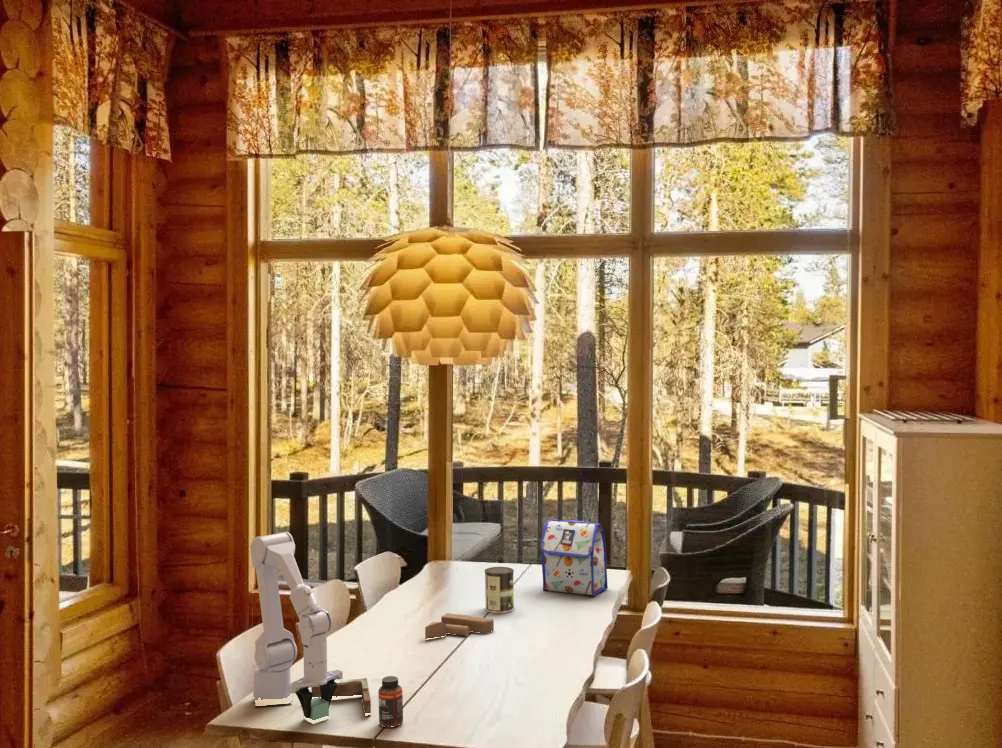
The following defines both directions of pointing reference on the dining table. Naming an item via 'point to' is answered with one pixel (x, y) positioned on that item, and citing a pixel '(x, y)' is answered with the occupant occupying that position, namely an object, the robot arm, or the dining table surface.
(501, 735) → the dining table surface
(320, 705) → the teal cube
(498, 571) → the coffee can
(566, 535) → the lunch bag
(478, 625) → the wooden block set
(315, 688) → the corner arena
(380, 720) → the supplement bottle
